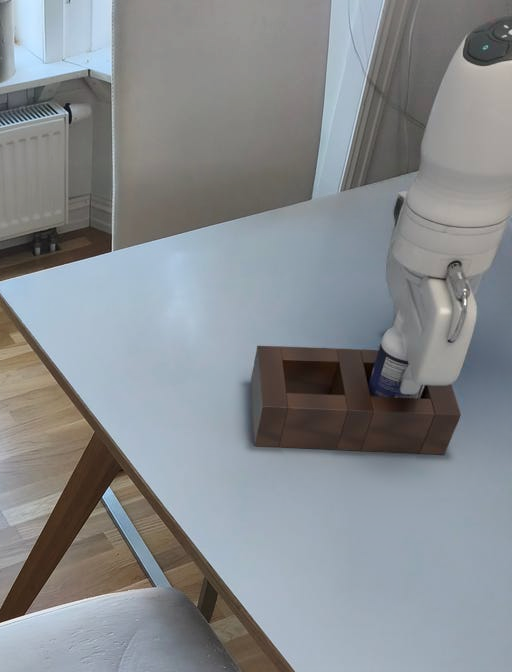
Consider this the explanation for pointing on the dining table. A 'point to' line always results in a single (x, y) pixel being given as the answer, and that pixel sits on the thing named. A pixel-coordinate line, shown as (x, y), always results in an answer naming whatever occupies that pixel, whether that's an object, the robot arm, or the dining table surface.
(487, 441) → the dining table surface
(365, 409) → the socket block
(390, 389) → the pill bottle
